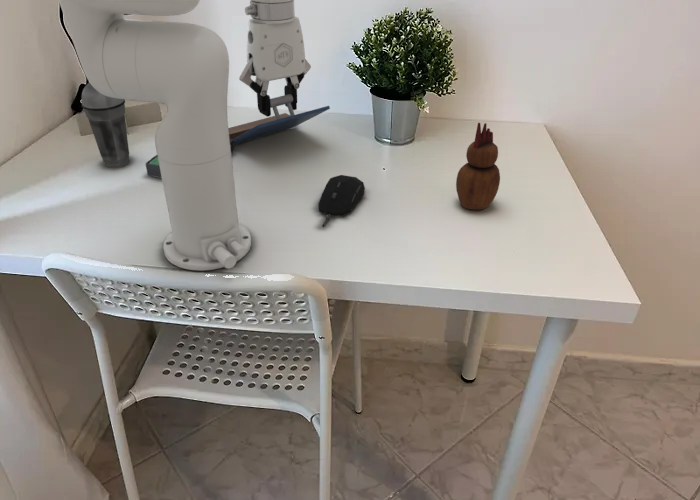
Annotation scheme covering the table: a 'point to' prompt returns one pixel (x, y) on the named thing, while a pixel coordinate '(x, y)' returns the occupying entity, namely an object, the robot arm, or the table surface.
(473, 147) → the wooden figurine
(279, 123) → the sign
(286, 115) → the bar
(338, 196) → the gaming mouse
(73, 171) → the table surface
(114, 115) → the beverage cup
